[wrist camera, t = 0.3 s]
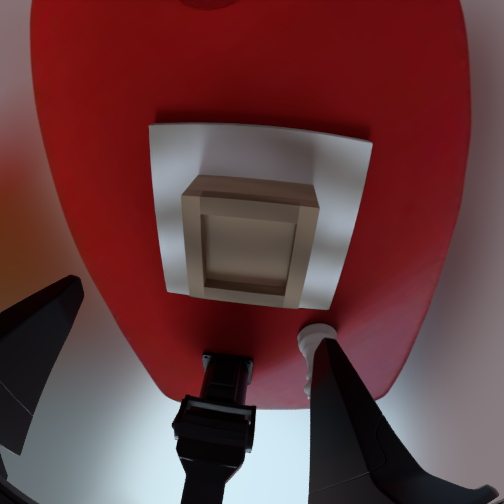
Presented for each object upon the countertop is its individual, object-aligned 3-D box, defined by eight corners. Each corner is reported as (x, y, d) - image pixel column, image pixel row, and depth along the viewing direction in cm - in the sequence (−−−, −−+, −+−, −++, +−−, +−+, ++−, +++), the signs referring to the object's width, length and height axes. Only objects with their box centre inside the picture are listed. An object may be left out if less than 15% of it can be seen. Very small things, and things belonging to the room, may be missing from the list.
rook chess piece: (339, 320, 28) (348, 384, 22) (333, 345, 31) (339, 404, 24) (297, 321, 29) (298, 386, 22) (296, 346, 31) (296, 406, 25)
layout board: (327, 302, 27) (333, 342, 23) (170, 285, 28) (153, 320, 24) (368, 140, 18) (392, 158, 14) (154, 123, 19) (121, 136, 15)
